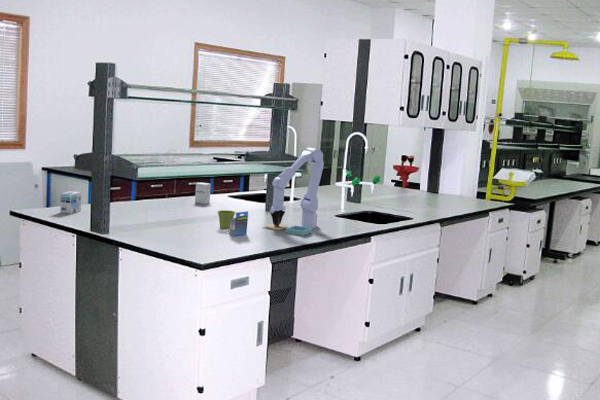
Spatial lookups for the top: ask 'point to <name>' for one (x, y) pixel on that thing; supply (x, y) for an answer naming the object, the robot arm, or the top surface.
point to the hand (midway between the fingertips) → (276, 224)
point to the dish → (299, 230)
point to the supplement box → (202, 193)
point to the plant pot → (225, 218)
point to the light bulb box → (70, 202)
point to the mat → (275, 230)
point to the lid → (276, 226)
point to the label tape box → (239, 224)
